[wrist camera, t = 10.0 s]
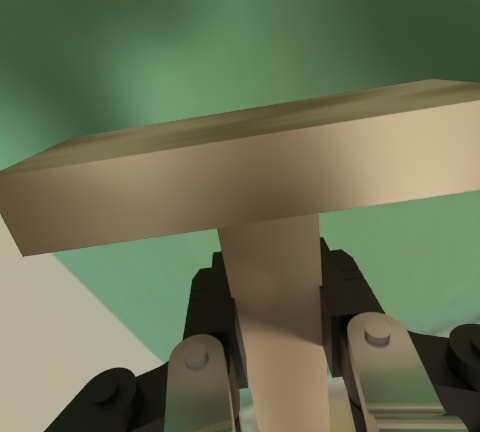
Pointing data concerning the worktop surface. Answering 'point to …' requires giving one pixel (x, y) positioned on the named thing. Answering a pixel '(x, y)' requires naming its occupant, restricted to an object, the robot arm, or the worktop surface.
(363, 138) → the wooden pusher
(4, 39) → the worktop surface
